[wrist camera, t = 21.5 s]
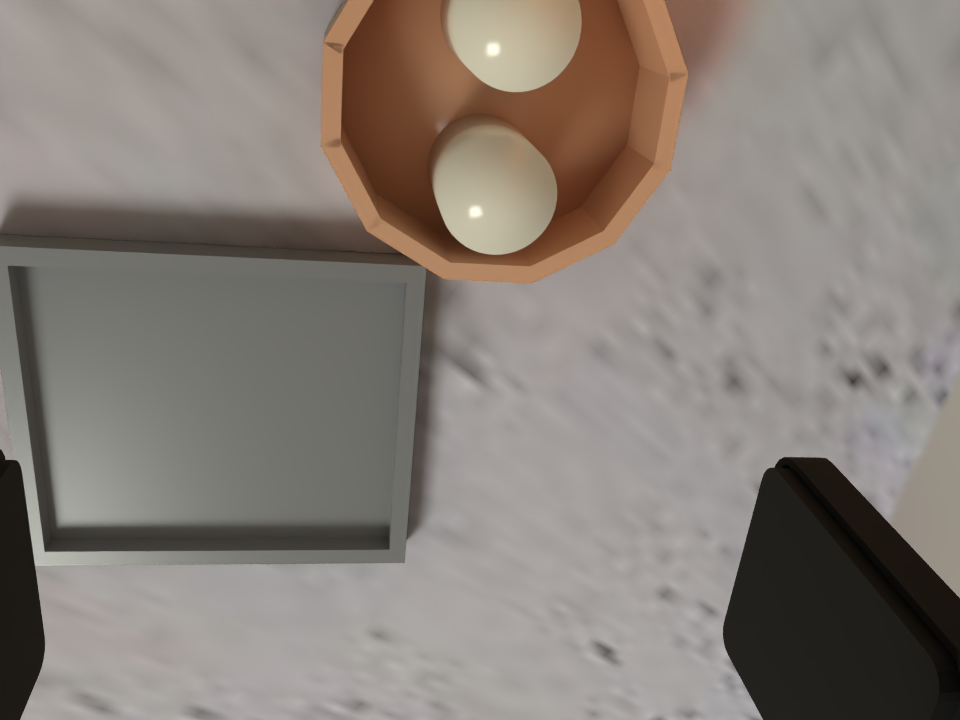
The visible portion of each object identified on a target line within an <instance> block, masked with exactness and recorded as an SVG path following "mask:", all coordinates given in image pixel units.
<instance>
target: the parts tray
mask: <svg viewBox="0 0 960 720" xmlns="http://www.w3.org/2000/svg"><path fill="white" fill-rule="evenodd" d="M425 282H426V268H425V267H424V266H422V265H420V264H419V263H417V262H415V261H414V260H412V259H411V258H409V257H407V256H406V255H404V254H388V253H368V252H347V251H327V250H306V249H286V248H266V247H245V246H225V245H204V244H184V243H164V242H143V241H123V240H102V239H82V238H62V237H41V236H21V235H0V369H1V376H2V383H3V390H4V397H5V404H6V412H7V419H8V426H9V433H10V440H11V447H12V454H13V460H17V461H18V462H19V464H20V466H21V469H22V475H23V482H24V489H25V497H26V504H27V511H28V519H29V526H30V533H31V541H32V548H33V555H34V563H35V566H81V565H203V564H325V563H405V551H406V538H407V524H408V511H409V497H410V484H411V470H412V457H413V443H414V430H415V416H416V403H417V389H418V376H419V362H420V349H421V336H422V322H423V309H424V295H425Z"/></svg>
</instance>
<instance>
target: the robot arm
mask: <svg viewBox="0 0 960 720" xmlns="http://www.w3.org/2000/svg"><path fill="white" fill-rule="evenodd" d="M723 638H724V644H725V648H726V651H727V653H728V655H729V657H730V659H731V661H732V663H733V665H734V666H735V668H736V670H737V672H738V674H739V676H740V677H741V679H742V681H743V683H744V685H745V687H746V689H747V690H748V692H749V694H750V696H751V698H752V700H753V702H754V703H755V705H756V707H757V709H758V711H759V713H760V714H761V716H762V718H763V720H960V598H959V597H958V596H957V595H956V594H955V593H954V592H953V591H952V590H951V589H950V588H949V586H948V585H946V583H945V582H944V581H943V580H942V579H941V578H940V577H939V576H938V575H937V574H936V573H935V572H934V571H933V570H932V568H931V567H929V565H928V564H927V563H926V562H925V561H924V560H923V559H922V558H921V557H920V556H919V555H918V554H917V553H916V551H915V550H914V549H913V548H912V547H911V546H910V545H909V544H908V543H907V542H906V541H905V540H904V539H903V538H902V537H901V536H900V534H898V532H897V531H896V530H895V529H894V528H893V527H892V526H891V525H890V524H889V523H888V522H887V521H886V520H885V519H884V518H883V516H882V515H881V514H880V513H879V512H878V511H877V510H876V509H875V508H874V507H873V506H872V505H871V504H870V503H869V502H868V501H867V500H866V498H865V497H864V496H863V495H862V494H861V493H860V492H859V491H858V490H857V489H856V488H855V487H854V486H853V485H852V484H851V483H850V481H849V480H848V479H847V478H846V477H845V476H844V475H843V474H842V473H841V472H840V471H839V470H838V469H837V468H836V467H835V466H834V465H833V463H832V462H830V461H829V460H828V459H826V458H805V457H784V458H782V459H780V460H779V461H778V462H777V464H776V465H775V468H769V469H767V470H766V472H765V473H764V475H763V478H762V481H761V485H760V489H759V493H758V496H757V500H756V504H755V508H754V512H753V515H752V519H751V523H750V527H749V530H748V534H747V538H746V542H745V546H744V549H743V553H742V557H741V561H740V564H739V568H738V572H737V576H736V580H735V583H734V587H733V591H732V595H731V598H730V602H729V606H728V610H727V614H726V617H725V621H724V626H723ZM44 651H45V636H44V629H43V622H42V614H41V607H40V600H39V592H38V585H37V578H36V570H35V563H34V555H33V548H32V541H31V533H30V526H29V519H28V511H27V504H26V497H25V489H24V482H23V475H22V469H21V466H20V464H19V462H18V461H17V460H5V456H4V454H3V452H2V450H0V720H20V718H21V716H22V713H23V711H24V709H25V706H26V704H27V702H28V699H29V697H30V694H31V692H32V690H33V687H34V685H35V683H36V680H37V678H38V675H39V673H40V670H41V667H42V663H43V659H44Z"/></svg>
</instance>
